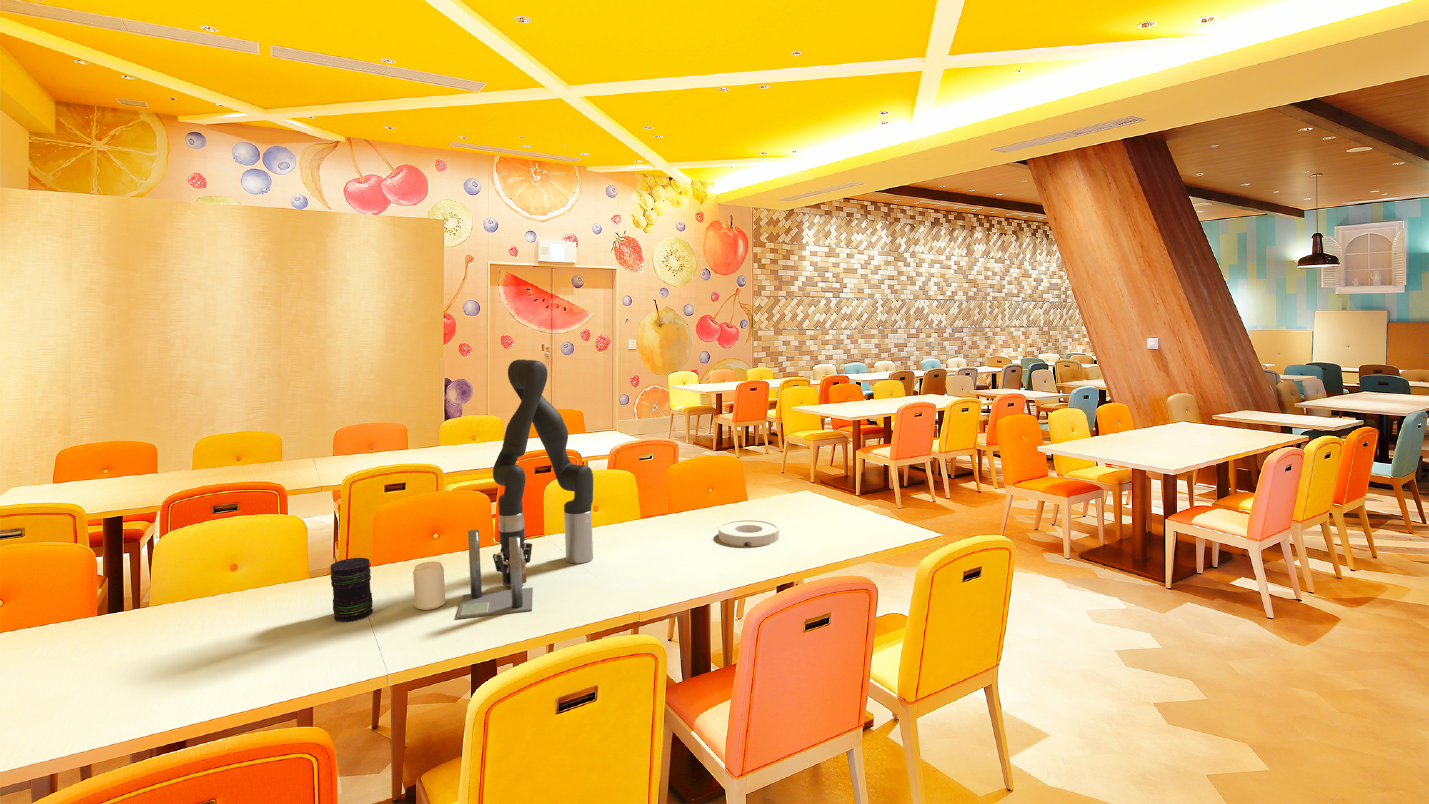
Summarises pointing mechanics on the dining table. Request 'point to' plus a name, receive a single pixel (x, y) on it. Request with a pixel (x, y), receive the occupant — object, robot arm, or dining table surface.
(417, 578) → the beverage can
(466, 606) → the pad
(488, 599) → the mat
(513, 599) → the post
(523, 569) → the walnut block
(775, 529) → the ashtray
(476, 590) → the post
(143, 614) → the dining table surface
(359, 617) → the black cylinder
